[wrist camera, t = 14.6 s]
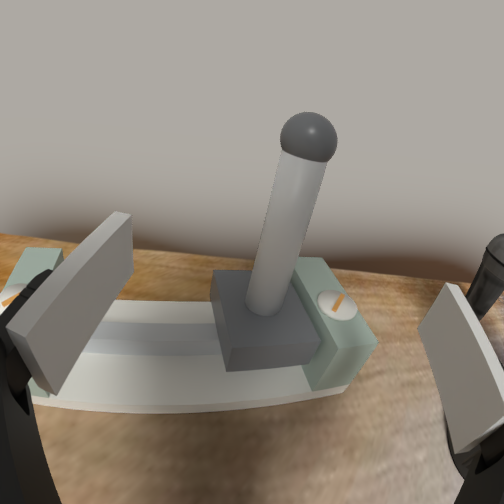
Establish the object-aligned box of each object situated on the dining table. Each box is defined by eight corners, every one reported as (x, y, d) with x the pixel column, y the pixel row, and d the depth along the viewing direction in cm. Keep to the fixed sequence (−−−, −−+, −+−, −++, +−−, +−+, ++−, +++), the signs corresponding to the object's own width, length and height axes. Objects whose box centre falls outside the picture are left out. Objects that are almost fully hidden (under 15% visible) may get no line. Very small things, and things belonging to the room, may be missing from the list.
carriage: (277, 294, 31) (330, 113, 22) (308, 364, 24) (402, 144, 15) (209, 294, 29) (245, 94, 20) (226, 372, 22) (288, 113, 13)
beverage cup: (455, 296, 46) (506, 197, 35) (485, 316, 42) (539, 219, 31) (449, 313, 41) (509, 202, 30) (482, 336, 37) (546, 228, 27)
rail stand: (301, 309, 36) (323, 252, 32) (342, 392, 26) (382, 337, 22) (41, 305, 27) (25, 241, 23) (15, 400, 17) (-25, 338, 13)
